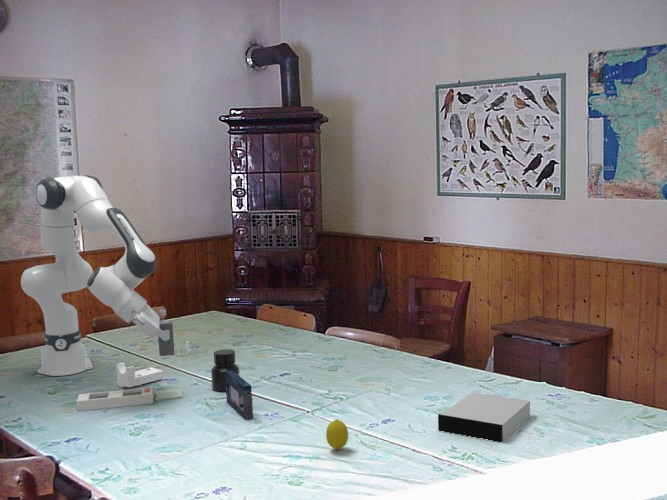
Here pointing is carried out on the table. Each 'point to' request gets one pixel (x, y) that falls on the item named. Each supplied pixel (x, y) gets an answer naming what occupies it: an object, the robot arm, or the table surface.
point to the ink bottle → (223, 368)
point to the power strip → (115, 399)
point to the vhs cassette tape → (239, 395)
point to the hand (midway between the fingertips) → (167, 337)
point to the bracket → (136, 375)
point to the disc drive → (484, 416)
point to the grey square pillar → (167, 346)
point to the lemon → (337, 434)
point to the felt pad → (169, 394)
